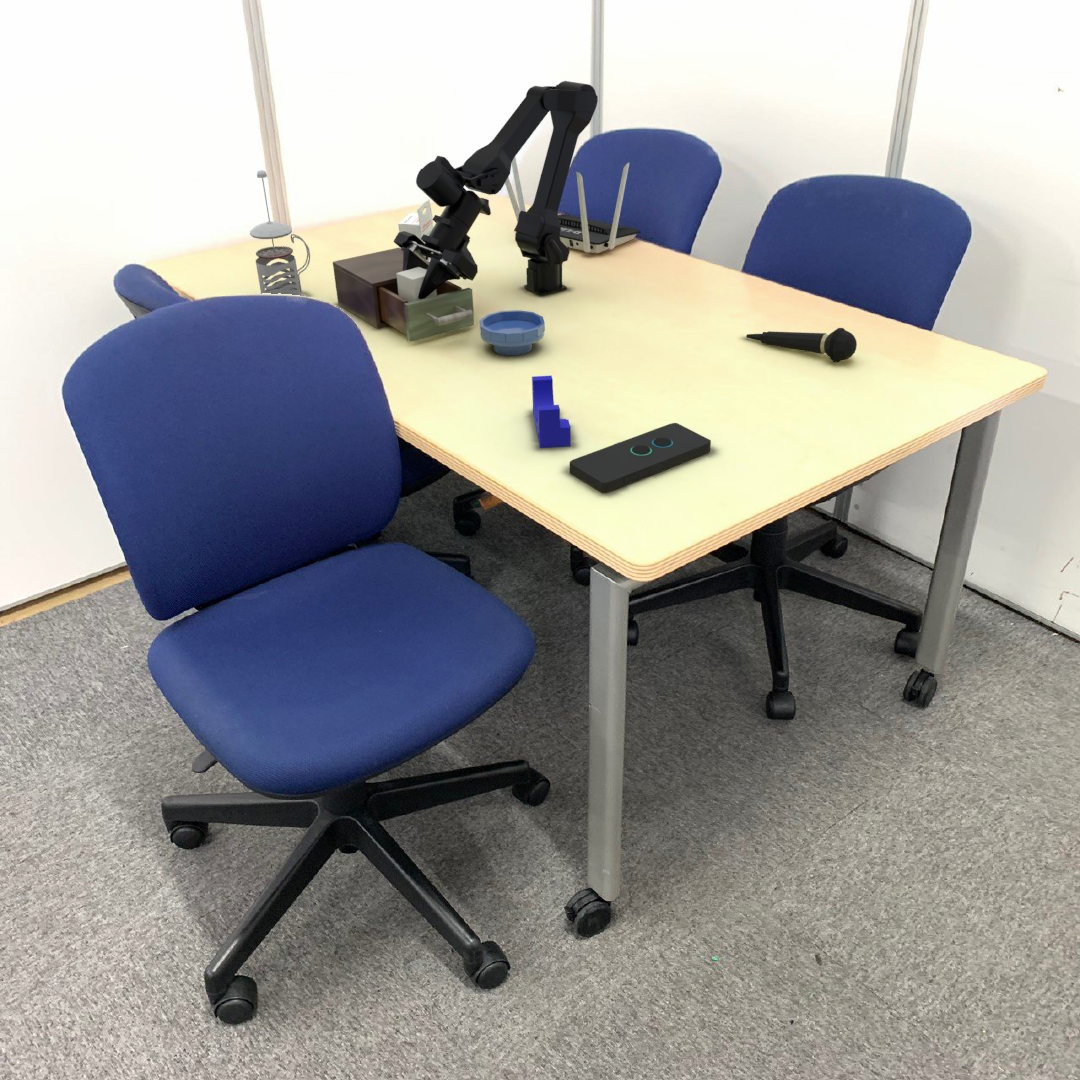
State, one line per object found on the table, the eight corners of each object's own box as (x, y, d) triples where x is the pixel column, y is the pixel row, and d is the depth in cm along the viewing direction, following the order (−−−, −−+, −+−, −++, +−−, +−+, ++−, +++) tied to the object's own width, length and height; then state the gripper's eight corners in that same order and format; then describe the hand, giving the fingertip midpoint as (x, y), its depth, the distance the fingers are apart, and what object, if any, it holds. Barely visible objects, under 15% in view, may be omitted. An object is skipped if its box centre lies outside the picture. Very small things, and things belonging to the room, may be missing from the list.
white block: (422, 304, 191) (418, 266, 187) (438, 311, 188) (435, 272, 184) (400, 311, 189) (396, 273, 185) (415, 318, 185) (412, 279, 181)
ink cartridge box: (414, 266, 221) (408, 197, 213) (437, 267, 220) (431, 198, 213) (402, 279, 214) (395, 208, 206) (425, 280, 213) (419, 209, 205)
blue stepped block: (570, 446, 149) (570, 408, 146) (539, 447, 149) (538, 410, 146) (561, 410, 159) (561, 374, 156) (533, 412, 159) (531, 376, 156)
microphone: (742, 358, 183) (850, 370, 171) (737, 331, 179) (846, 342, 167) (756, 340, 185) (863, 351, 173) (751, 313, 182) (859, 322, 170)
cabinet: (444, 311, 198) (441, 267, 193) (377, 328, 191) (372, 283, 186) (403, 289, 209) (399, 247, 205) (338, 304, 202) (332, 261, 198)
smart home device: (713, 440, 146) (604, 483, 136) (713, 451, 147) (604, 494, 137) (674, 420, 151) (566, 460, 142) (673, 431, 152) (567, 471, 143)
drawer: (489, 333, 185) (487, 296, 181) (425, 350, 179) (421, 313, 175) (432, 302, 199) (429, 268, 196) (370, 317, 193) (366, 282, 189)
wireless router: (661, 243, 232) (665, 151, 221) (598, 269, 217) (599, 171, 206) (547, 219, 250) (546, 133, 240) (483, 241, 236) (478, 151, 225)
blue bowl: (521, 331, 188) (520, 305, 185) (557, 349, 180) (556, 323, 177) (469, 346, 182) (467, 319, 180) (504, 365, 175) (502, 338, 172)
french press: (253, 295, 208) (230, 168, 194) (309, 287, 211) (291, 161, 198) (261, 311, 200) (238, 179, 187) (320, 301, 204) (302, 171, 190)
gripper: (514, 257, 186) (469, 330, 186) (451, 235, 198) (409, 304, 198) (477, 222, 177) (431, 299, 177) (414, 202, 189) (371, 274, 189)
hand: (411, 295), depth 186 cm, fingers closed on white block, 5 cm apart
